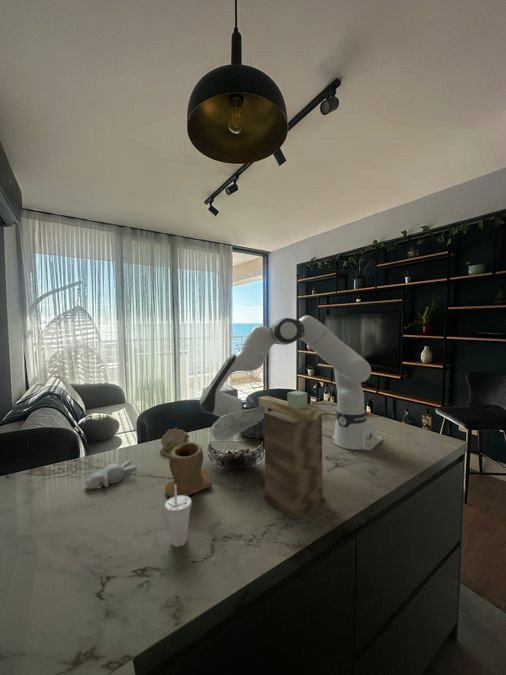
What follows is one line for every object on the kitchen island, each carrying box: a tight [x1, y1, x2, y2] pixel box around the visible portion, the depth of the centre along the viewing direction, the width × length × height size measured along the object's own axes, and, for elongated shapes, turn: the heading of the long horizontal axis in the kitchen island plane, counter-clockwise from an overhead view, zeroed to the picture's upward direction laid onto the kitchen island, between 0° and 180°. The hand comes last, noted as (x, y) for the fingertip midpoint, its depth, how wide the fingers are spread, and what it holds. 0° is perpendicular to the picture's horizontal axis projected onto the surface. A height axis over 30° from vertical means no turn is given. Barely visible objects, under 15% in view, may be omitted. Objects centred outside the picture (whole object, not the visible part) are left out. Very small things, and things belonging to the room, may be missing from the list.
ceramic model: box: [159, 427, 190, 457], centre depth 124 cm, size 14×11×10 cm
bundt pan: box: [240, 405, 273, 440], centre depth 144 cm, size 26×26×10 cm
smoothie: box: [164, 485, 193, 548], centre depth 71 cm, size 6×6×14 cm
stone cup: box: [164, 441, 213, 498], centre depth 94 cm, size 15×12×15 cm
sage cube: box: [286, 390, 308, 409], centre depth 85 cm, size 4×4×4 cm
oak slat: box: [258, 395, 319, 421], centre depth 89 cm, size 4×22×2 cm, turn 37°
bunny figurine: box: [85, 460, 138, 490], centre depth 101 cm, size 10×5×15 cm
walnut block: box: [262, 410, 326, 520], centre depth 88 cm, size 13×13×26 cm
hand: (254, 410), depth 102 cm, fingers open, 8 cm apart
